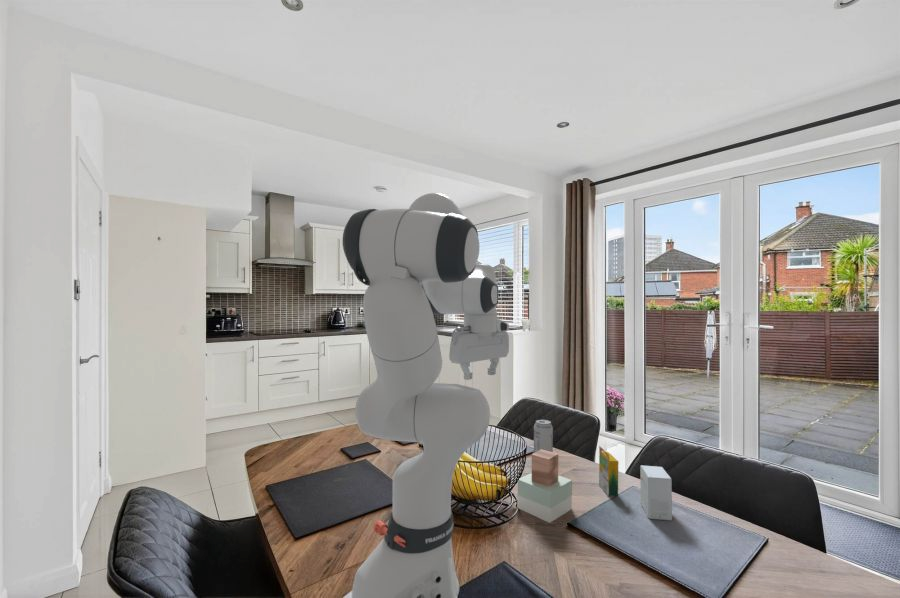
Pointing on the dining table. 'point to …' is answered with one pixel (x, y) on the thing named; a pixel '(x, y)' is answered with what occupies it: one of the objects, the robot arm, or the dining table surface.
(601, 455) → the crayon box
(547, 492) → the tower top block
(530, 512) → the tower base block
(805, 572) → the dining table surface
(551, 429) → the energy drink can
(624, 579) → the dining table surface
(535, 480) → the terracotta block
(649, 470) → the small box
